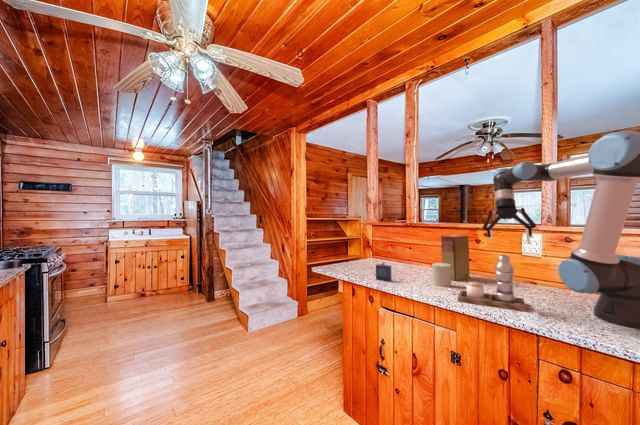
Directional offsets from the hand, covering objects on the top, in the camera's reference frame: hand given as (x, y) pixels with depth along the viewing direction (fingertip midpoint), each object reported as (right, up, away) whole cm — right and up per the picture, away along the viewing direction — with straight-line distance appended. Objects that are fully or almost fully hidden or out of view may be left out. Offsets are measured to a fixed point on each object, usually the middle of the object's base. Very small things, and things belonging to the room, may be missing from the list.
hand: (510, 243), depth 121 cm
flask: (-50, -26, +34) cm, 65 cm away
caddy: (-15, -25, -10) cm, 30 cm away
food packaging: (-7, -24, +35) cm, 43 cm away
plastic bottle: (-11, -24, -12) cm, 29 cm away
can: (-23, -25, +19) cm, 39 cm away
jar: (-20, -24, -6) cm, 32 cm away
